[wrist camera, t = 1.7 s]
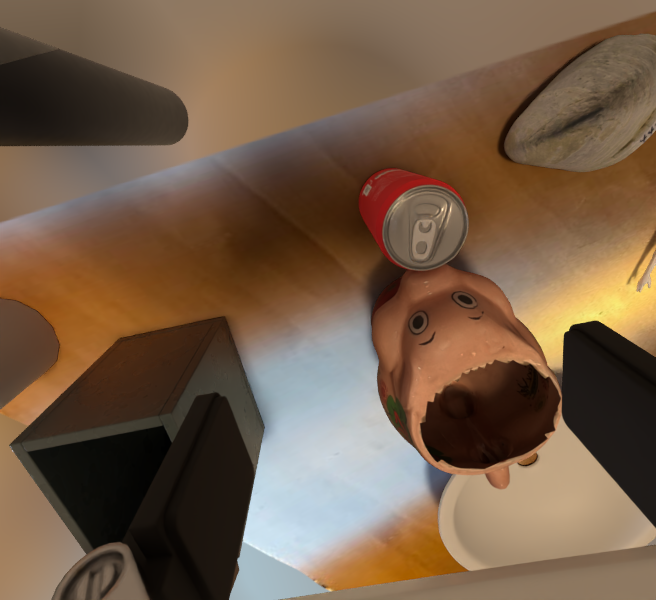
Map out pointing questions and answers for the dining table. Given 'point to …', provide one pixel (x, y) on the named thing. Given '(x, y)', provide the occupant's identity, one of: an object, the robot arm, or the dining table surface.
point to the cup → (23, 348)
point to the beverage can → (414, 218)
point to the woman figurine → (647, 274)
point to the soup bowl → (540, 510)
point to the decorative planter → (462, 373)
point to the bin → (131, 424)
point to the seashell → (591, 109)
